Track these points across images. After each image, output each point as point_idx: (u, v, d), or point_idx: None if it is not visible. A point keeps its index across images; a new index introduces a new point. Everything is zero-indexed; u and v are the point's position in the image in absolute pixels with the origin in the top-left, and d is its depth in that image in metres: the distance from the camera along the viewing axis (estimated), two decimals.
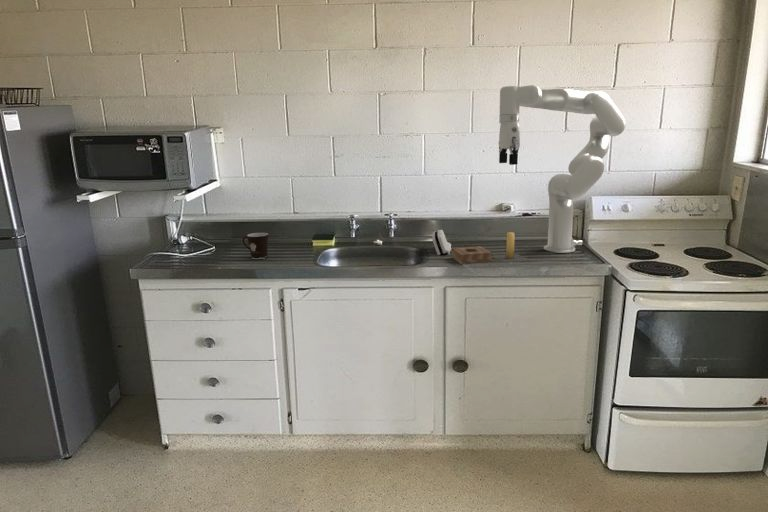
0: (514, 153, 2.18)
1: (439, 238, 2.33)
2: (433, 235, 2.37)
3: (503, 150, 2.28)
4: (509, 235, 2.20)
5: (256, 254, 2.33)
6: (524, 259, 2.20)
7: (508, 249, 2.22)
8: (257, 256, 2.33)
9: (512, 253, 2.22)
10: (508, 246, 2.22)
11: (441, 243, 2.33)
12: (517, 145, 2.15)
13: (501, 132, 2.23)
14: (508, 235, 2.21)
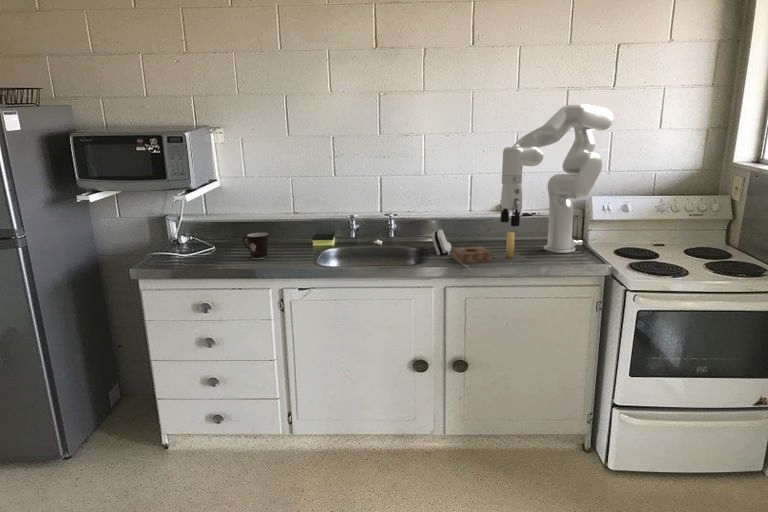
0: (516, 215, 2.13)
1: (439, 238, 2.33)
2: (433, 235, 2.37)
3: (505, 209, 2.24)
4: (509, 235, 2.20)
5: (256, 254, 2.33)
6: (524, 259, 2.20)
7: (508, 249, 2.22)
8: (257, 256, 2.33)
9: (512, 253, 2.22)
10: (508, 246, 2.22)
11: (441, 243, 2.33)
12: (519, 208, 2.11)
13: (503, 192, 2.19)
14: (508, 235, 2.21)
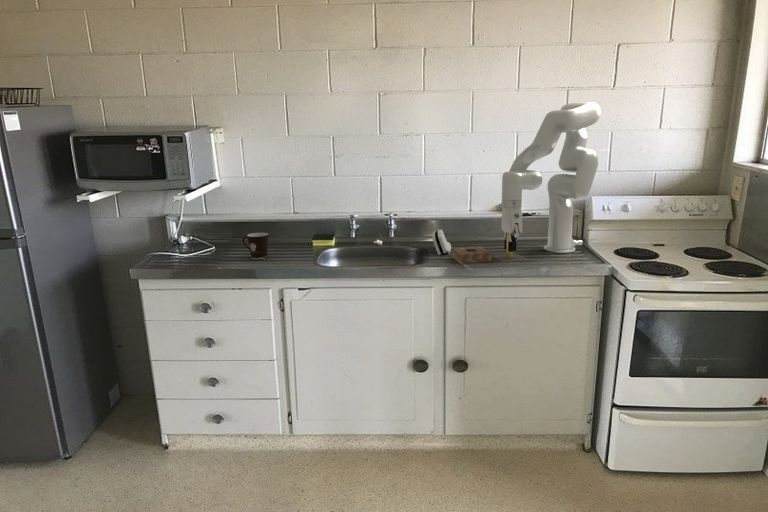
0: (513, 241, 2.19)
1: (439, 238, 2.34)
2: (433, 235, 2.37)
3: None
4: None
5: (256, 254, 2.33)
6: (524, 259, 2.20)
7: None
8: (257, 256, 2.33)
9: (512, 253, 2.22)
10: None
11: (441, 243, 2.34)
12: (516, 237, 2.16)
13: (503, 216, 2.21)
14: (508, 235, 2.21)
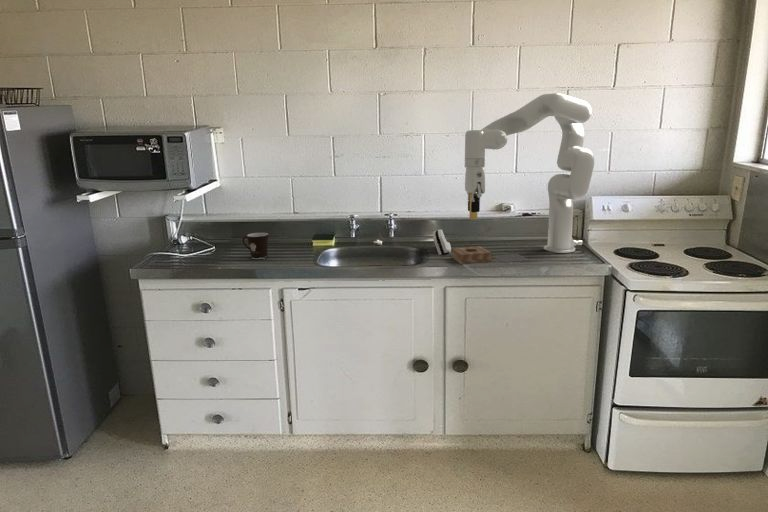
0: (476, 201, 2.16)
1: (440, 238, 2.34)
2: (434, 235, 2.37)
3: None
4: None
5: (256, 254, 2.33)
6: (524, 259, 2.20)
7: None
8: (257, 256, 2.33)
9: (475, 214, 2.18)
10: None
11: (442, 243, 2.34)
12: (479, 196, 2.12)
13: (466, 176, 2.17)
14: (471, 195, 2.17)
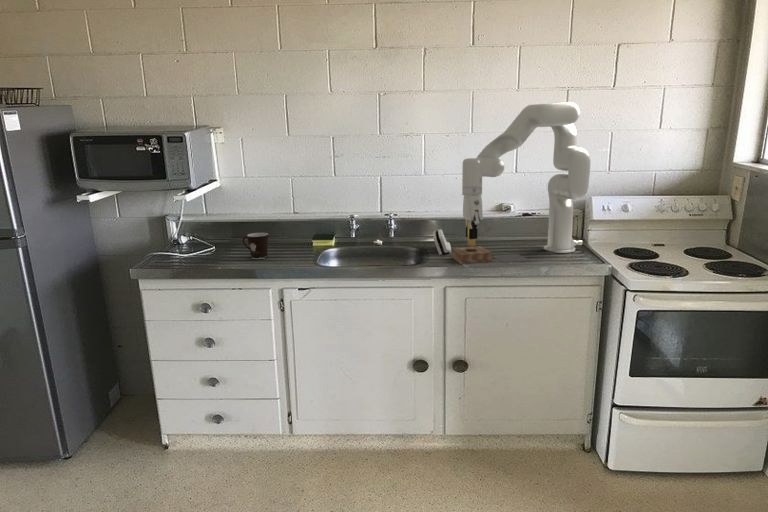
0: (473, 229, 2.18)
1: (440, 238, 2.34)
2: (434, 235, 2.37)
3: None
4: None
5: (256, 254, 2.33)
6: (524, 259, 2.20)
7: None
8: (257, 256, 2.33)
9: (473, 240, 2.21)
10: None
11: (443, 243, 2.34)
12: (477, 224, 2.15)
13: (464, 203, 2.20)
14: (469, 222, 2.19)
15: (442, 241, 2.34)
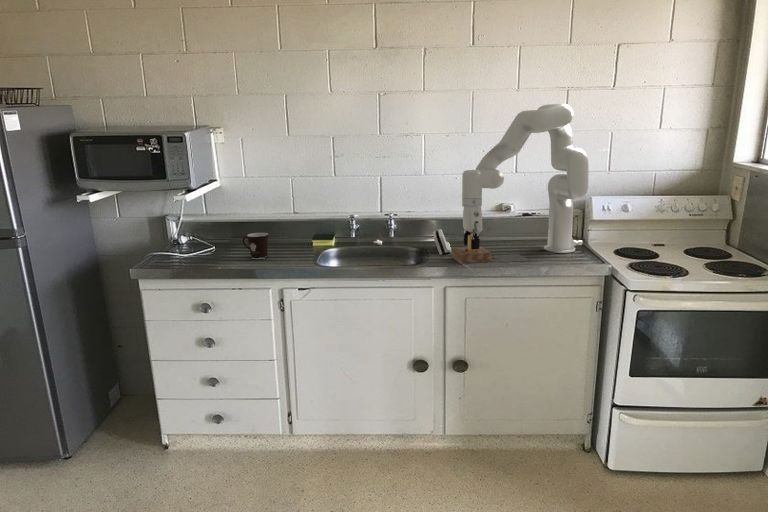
0: (476, 239, 2.16)
1: (441, 238, 2.34)
2: (434, 235, 2.37)
3: (468, 232, 2.26)
4: (470, 238, 2.20)
5: (256, 254, 2.33)
6: (524, 259, 2.20)
7: None
8: (257, 256, 2.33)
9: None
10: (469, 249, 2.22)
11: (443, 243, 2.34)
12: (478, 232, 2.13)
13: (464, 214, 2.21)
14: (469, 238, 2.21)
15: (442, 241, 2.34)
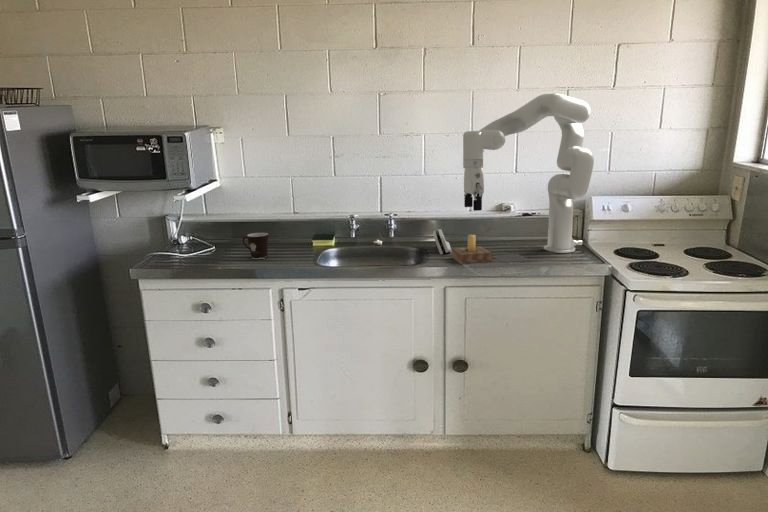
0: (478, 199, 2.13)
1: (441, 238, 2.34)
2: (435, 235, 2.37)
3: (468, 194, 2.24)
4: (470, 238, 2.20)
5: (256, 254, 2.33)
6: (524, 259, 2.20)
7: None
8: (257, 256, 2.33)
9: None
10: (469, 249, 2.22)
11: (444, 242, 2.34)
12: (480, 192, 2.10)
13: (465, 177, 2.18)
14: (469, 238, 2.21)
15: (443, 241, 2.34)
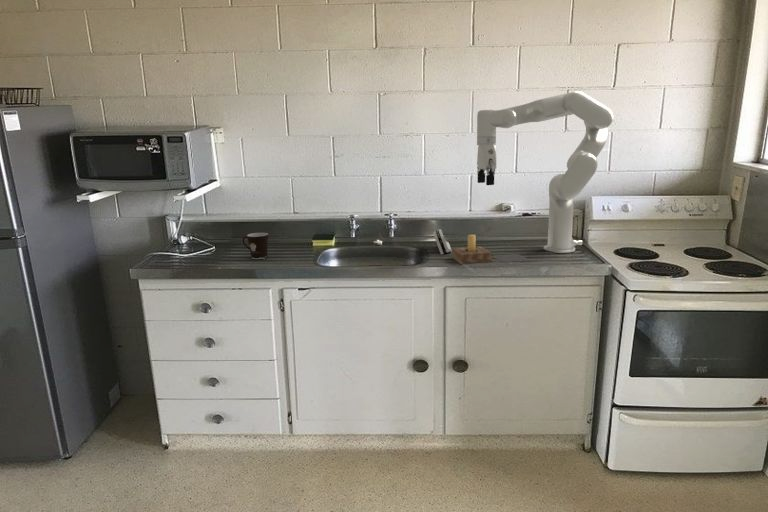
0: (491, 174, 2.26)
1: (442, 237, 2.34)
2: (435, 235, 2.37)
3: (481, 170, 2.37)
4: (470, 237, 2.21)
5: (256, 254, 2.33)
6: (524, 259, 2.20)
7: (469, 251, 2.22)
8: (257, 256, 2.33)
9: None
10: (469, 248, 2.22)
11: (444, 242, 2.34)
12: (493, 167, 2.23)
13: (479, 153, 2.31)
14: (469, 237, 2.21)
15: (444, 241, 2.34)
